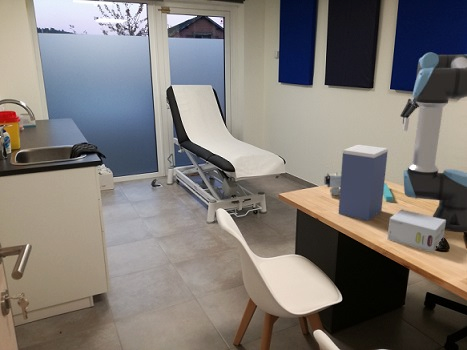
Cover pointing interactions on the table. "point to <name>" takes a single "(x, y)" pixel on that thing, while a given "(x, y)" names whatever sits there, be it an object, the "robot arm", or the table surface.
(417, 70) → the robot arm
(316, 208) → the table surface
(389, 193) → the bar
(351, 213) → the pedestal
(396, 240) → the supplement box
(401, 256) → the table surface
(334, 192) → the pneumatic valve
